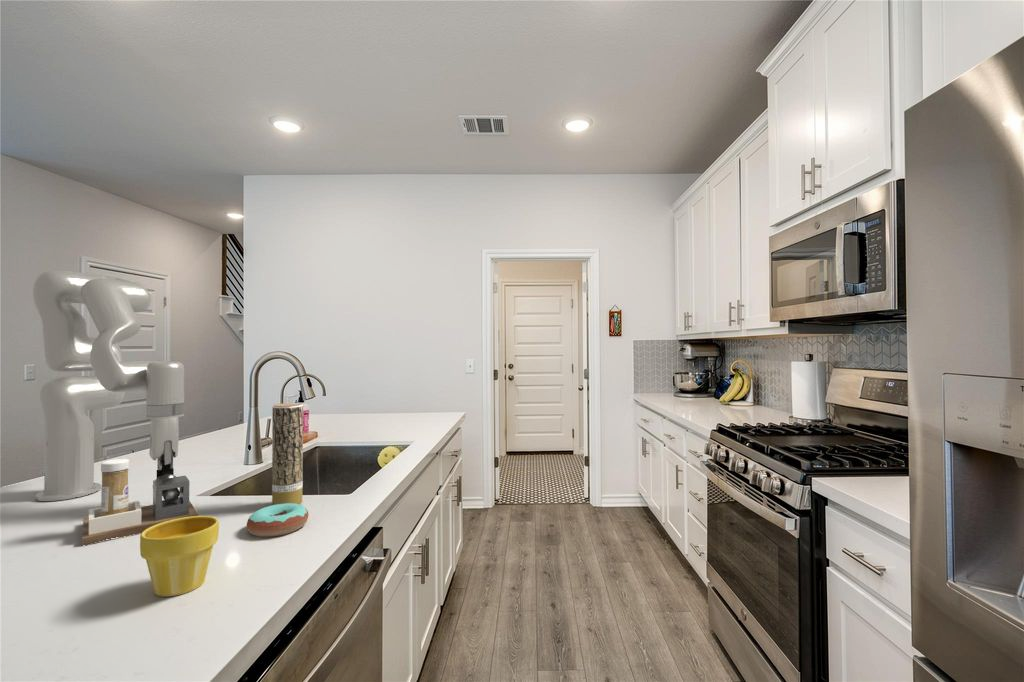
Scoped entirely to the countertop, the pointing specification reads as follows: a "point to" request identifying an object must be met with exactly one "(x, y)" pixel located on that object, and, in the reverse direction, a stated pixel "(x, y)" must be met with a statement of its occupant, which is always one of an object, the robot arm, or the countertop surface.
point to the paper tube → (287, 453)
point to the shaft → (169, 490)
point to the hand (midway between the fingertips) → (165, 485)
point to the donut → (277, 520)
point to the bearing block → (173, 508)
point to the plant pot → (179, 553)
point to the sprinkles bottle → (114, 486)
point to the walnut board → (146, 523)
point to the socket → (114, 519)
